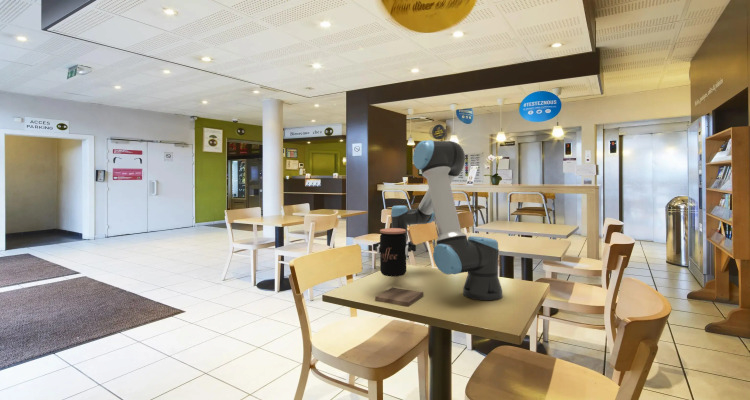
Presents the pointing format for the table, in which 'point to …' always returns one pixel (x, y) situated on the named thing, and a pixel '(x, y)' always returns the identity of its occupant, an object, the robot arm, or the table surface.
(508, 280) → the table surface
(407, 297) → the walnut board
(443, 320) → the table surface
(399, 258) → the coffee jar
